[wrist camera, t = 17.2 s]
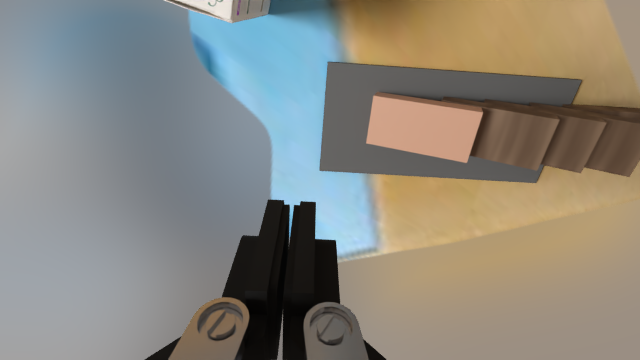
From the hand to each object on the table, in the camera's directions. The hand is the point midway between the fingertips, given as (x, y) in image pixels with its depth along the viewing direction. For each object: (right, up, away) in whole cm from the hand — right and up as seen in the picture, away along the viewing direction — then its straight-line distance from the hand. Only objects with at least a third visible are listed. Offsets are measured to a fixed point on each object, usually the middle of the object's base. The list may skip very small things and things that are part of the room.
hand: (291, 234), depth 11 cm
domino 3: (+18, +8, +22) cm, 29 cm away
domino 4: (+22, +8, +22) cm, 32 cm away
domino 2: (+13, +8, +22) cm, 27 cm away
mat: (+14, +8, +24) cm, 29 cm away
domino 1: (+6, +8, +22) cm, 24 cm away
